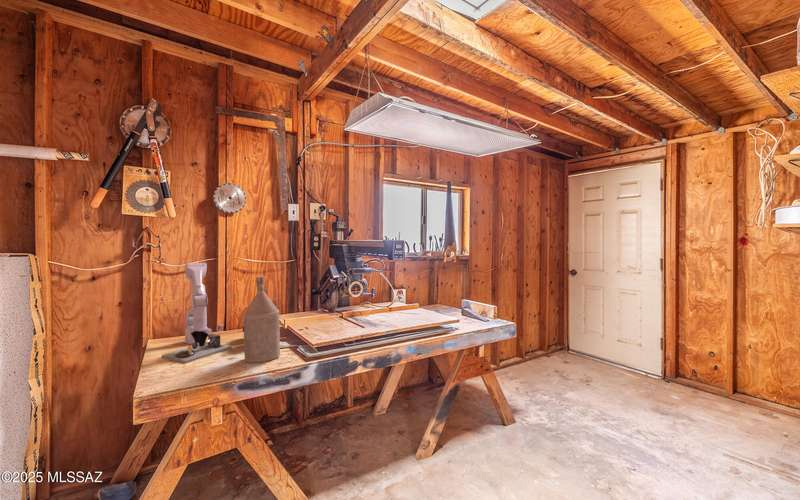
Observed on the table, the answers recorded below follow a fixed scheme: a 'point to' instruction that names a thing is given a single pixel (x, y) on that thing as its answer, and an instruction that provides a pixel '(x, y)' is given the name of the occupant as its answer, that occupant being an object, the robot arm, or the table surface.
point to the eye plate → (216, 341)
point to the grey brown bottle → (261, 327)
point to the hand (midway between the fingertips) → (200, 346)
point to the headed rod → (195, 345)
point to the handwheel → (185, 352)
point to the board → (196, 353)
